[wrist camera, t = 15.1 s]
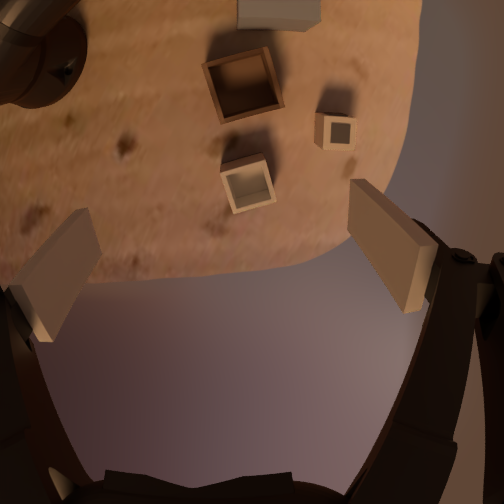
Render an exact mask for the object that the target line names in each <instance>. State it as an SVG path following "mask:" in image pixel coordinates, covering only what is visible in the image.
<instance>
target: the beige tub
mask: <svg viewBox="0 0 504 504" xmlns="http://www.w3.org/2000/svg"><path fill="white" fill-rule="evenodd" d="M220 175H221V178H222V181H223V184H224V187H225V190H226V193H227V196H228V199H229V202H230V205H231V208H232V211H233V214H236V213H239V212H243V211H246V210H250V209H253V208H257V207H261V206H264V205H268V204H271V203H275V202H277V200H276V196H275V193H274V189H273V185H272V181H271V178H270V174H269V171H268V167H267V163H266V160H265V158H264V155H263V153H258V154H254V155H251V156H247V157H244V158H240V159H237V160H233V161H230V162H227V163H223V164H221V166H220Z"/></svg>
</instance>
